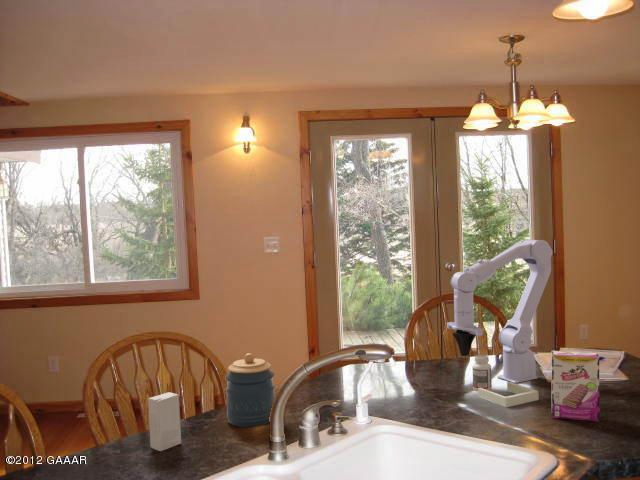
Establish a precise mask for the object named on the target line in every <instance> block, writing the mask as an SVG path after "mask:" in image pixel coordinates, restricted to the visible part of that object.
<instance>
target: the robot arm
mask: <svg viewBox="0 0 640 480" xmlns="http://www.w3.org/2000/svg"><path fill="white" fill-rule="evenodd" d="M553 253H554V252H553V249H552V247H551V246H550V244H549V243H548V242H547V241H546V240H543V239H537V240H536V239H529V238H525V239H522V240H520V241H518V242H515V243H514V244H513V245H511V246H510V247H508V248H506V249H505V250H504V251H502V252H500V253H499V254H497V255H496V256H494V257H493V258H491V259H489V260H488V259H486V258H484V259H481V258H479V259H478V260H476V263H474V264H473V265H471V266H469V267H467V266H466V267H465V268H463V271H458V272H455V273H454V274H453V276H451V280H450V281H449V283H450V286H451V288H452V289H453V306H454V308H453V310H454V311H453V312H454V313H453V315H454V321H449V322H446V329H448V330H454V331H455V332H452V336H453V338H454V339H455V342H456V343H457V346H458V349H459V353H460V356H462V357H467V356H470V353H471V352H470V351H471V347H472V344H473V341H474V339H475V338H476V337H481V336H484V328H481V327H478V326H476V325H475V323H474V322H475V321H474V320H475V317H474V315H475V314H474V311H475V310H474V290H475V289H476V287H477V285H479V284H481V283H483V282H485V281H486V280H488V279H489V278H491V277H493V276H495V273H496V270H498V269H499V268H502V267H504V266H505V265H507V264H509V263H512V262H514V261H516V260H517V259H521V260H523V261H524V262H525V263H526V265H527V266H528V268H529V269H530V275H529V277H528V280H527V282H526V284H525V287H524V288H523V291H522V295H521V297H520V299H519V302H518V303H517V307H516V309H515V311H514V314H513V316H512V317H511V318H510V319H509V320H507V321H506V323H505V326H504V327H503V328H502V329H501V330H500V331H499V333H498V341H499V342H500V344H501V345H502V366H503V368H502V369H503V370H502V373H503V374H501V375H497V378H498V379H502V380H504V381H507V382H512V383H515V384H519V383H523V382H527V381H532V380H537V379H538V376H536V356H535V353H534V352H533V350H531V349H530V348H531V345H532V336H533V333H534V332H533V329H532V326H531V323H532V321H533V318H534V316H535V313H536V310H537V309H538V305H539V304H540V300H541V298H542V295H543V293H544V291H545V288H546V286H547V282H548V281H549V278H550V275H551V272H552V255H553Z"/></svg>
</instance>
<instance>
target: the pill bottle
mask: <svg viewBox="0 0 640 480" xmlns="http://www.w3.org/2000/svg"><path fill="white" fill-rule="evenodd" d="M489 361H490V360H489V356H488V355H483V354H482V355H481V354H478V355H475V356H474V362H475V363H473V365H472V389H473V390H474V391H476V392H478V388H483V389H485V390H488V391H492V389H493V388H492V386H493V385H492V384H493V383H492V366H491V364H490V363H489Z"/></svg>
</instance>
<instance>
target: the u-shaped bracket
mask: <svg viewBox="0 0 640 480" xmlns="http://www.w3.org/2000/svg"><path fill="white" fill-rule="evenodd" d="M506 387H507V388H506V389H507V390H506V391H507V392H510V393H513V394H511V395H508V396H504V395H502V394H500V393H497V392H493V391H492V390H490V391H488V390H485V389H483V388H478V391H477V397H478V398H479V399H482V400H485V401H487V402H490V403H492V404H495V405H498V406H501V407H503V408H509V407H510V408H511V407H514V406H519V405H522V404H528V403H532V402H537V401H539V397H540V396H539V391H538V390H536V389H533V388H531V387H526V386H525V385H520V384H519V383H513V382H510V381H507V382H506Z"/></svg>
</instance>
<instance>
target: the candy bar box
mask: <svg viewBox="0 0 640 480" xmlns="http://www.w3.org/2000/svg"><path fill="white" fill-rule="evenodd" d="M550 354H551V356H550V357H551V359H550V360H551V361H550V362H551V368H550V369H551V377H550V378H551V389H550V391H551V417H552V419H561V420H571V421H574V420H575V421H583V422H584V421H586V422H598V423H599V422H600V357H599V353H598V352H583V351H582V352H581V351H566V350H565V351H563V350H551V353H550Z"/></svg>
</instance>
